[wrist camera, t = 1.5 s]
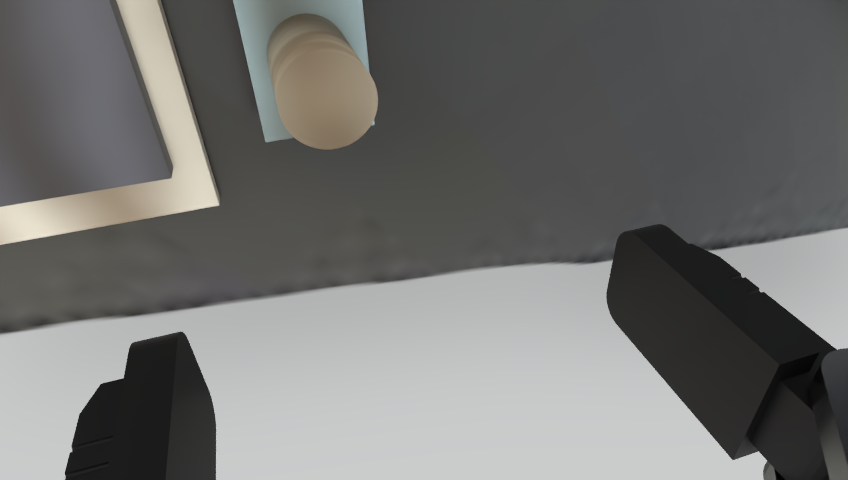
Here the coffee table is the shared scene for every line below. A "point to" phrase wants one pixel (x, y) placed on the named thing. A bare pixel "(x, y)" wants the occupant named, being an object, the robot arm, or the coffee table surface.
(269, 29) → the rubber stamp
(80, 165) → the stamping board
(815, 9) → the coffee table surface
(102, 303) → the coffee table surface
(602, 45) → the coffee table surface
